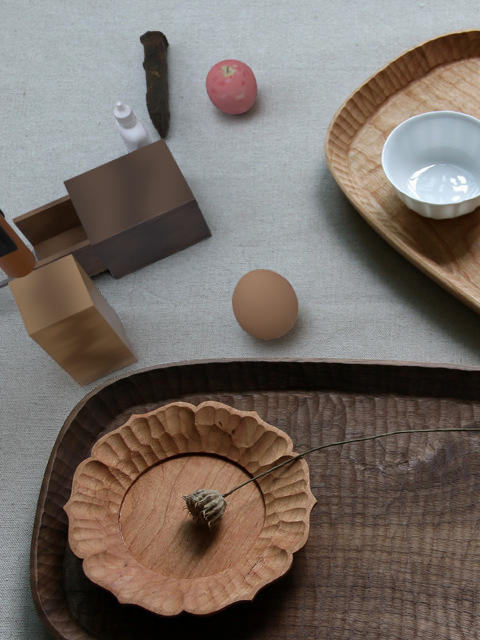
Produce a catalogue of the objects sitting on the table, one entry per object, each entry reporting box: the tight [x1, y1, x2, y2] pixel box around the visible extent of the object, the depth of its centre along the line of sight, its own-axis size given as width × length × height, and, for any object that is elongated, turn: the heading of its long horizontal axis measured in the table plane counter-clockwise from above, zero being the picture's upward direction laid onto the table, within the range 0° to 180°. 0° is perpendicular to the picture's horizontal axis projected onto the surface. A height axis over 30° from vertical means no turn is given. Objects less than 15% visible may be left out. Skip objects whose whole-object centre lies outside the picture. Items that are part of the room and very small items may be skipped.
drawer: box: [0, 193, 109, 290], centre depth 110 cm, size 18×10×7 cm, turn 118°
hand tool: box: [139, 30, 171, 140], centre depth 123 cm, size 19×4×5 cm, turn 7°
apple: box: [205, 58, 258, 115], centre depth 120 cm, size 7×7×8 cm
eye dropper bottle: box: [113, 101, 154, 153], centre depth 115 cm, size 4×6×12 cm
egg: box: [231, 268, 300, 341], centre depth 103 cm, size 8×8×11 cm
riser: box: [8, 254, 139, 388], centre depth 101 cm, size 8×8×15 cm
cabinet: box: [63, 138, 213, 281], centre depth 112 cm, size 15×12×9 cm
